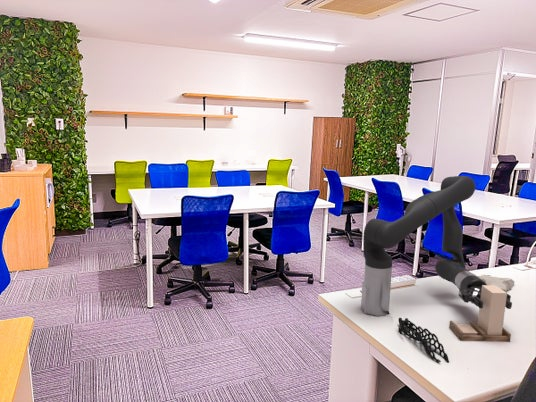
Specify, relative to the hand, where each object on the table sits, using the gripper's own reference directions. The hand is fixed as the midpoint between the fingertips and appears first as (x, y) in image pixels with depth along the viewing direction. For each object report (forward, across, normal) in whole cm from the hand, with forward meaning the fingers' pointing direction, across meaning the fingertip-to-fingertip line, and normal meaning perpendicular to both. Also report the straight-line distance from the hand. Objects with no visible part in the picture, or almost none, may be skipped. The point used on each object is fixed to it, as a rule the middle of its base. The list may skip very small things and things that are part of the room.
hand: (496, 305), depth 122 cm
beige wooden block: (-2, 0, +10) cm, 11 cm away
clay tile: (-2, -7, +10) cm, 13 cm away
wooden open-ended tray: (-2, -3, +12) cm, 12 cm away
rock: (-44, +23, +12) cm, 51 cm away
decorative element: (+4, -24, +12) cm, 27 cm away
